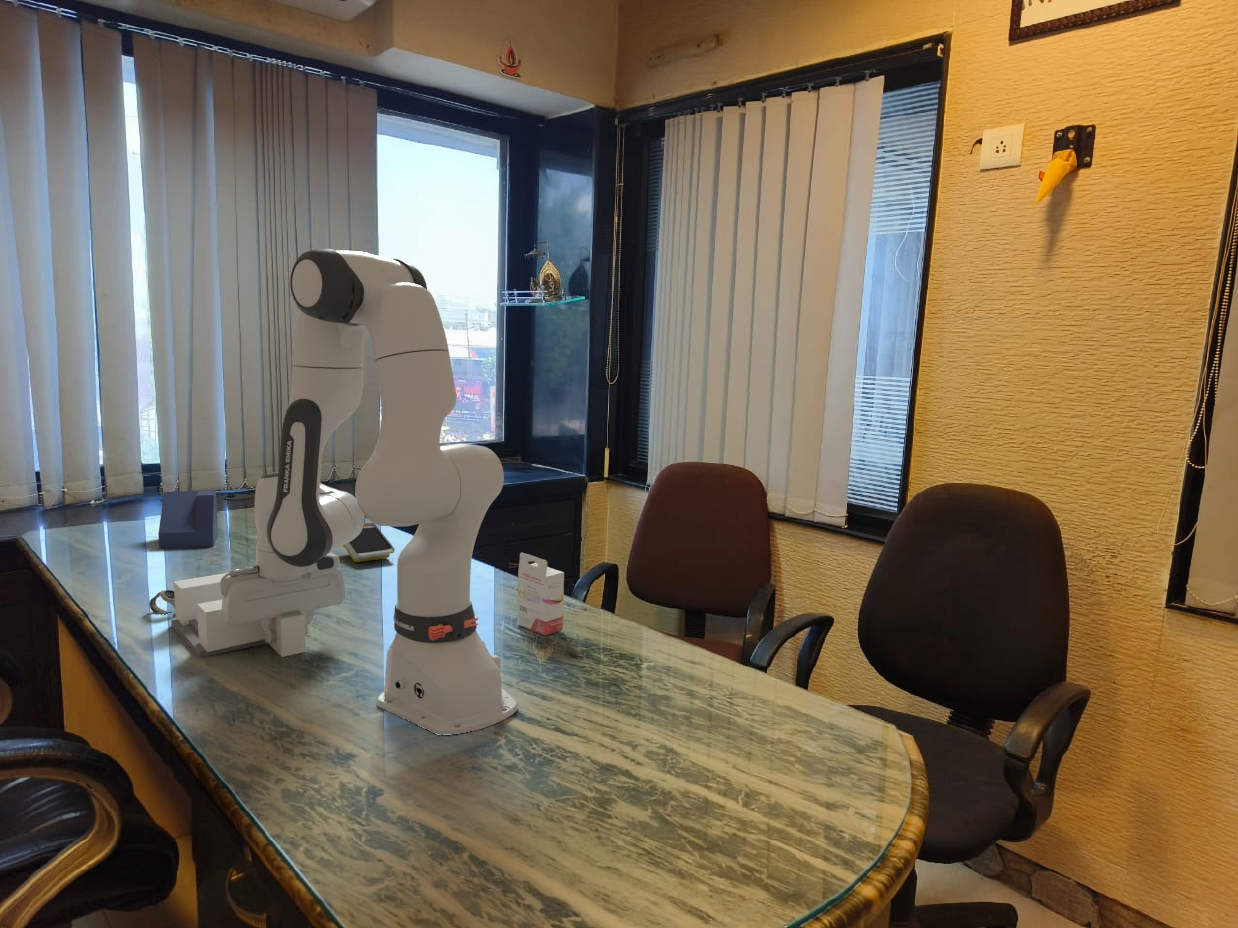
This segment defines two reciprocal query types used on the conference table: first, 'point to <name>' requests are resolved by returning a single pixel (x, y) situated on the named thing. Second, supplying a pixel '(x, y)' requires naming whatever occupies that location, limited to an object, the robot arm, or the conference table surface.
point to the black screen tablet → (369, 545)
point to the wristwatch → (166, 596)
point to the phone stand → (188, 519)
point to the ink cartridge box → (539, 596)
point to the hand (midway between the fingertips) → (286, 637)
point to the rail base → (209, 619)
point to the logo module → (289, 633)
